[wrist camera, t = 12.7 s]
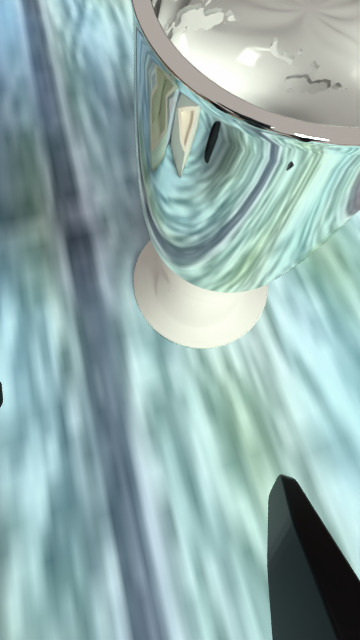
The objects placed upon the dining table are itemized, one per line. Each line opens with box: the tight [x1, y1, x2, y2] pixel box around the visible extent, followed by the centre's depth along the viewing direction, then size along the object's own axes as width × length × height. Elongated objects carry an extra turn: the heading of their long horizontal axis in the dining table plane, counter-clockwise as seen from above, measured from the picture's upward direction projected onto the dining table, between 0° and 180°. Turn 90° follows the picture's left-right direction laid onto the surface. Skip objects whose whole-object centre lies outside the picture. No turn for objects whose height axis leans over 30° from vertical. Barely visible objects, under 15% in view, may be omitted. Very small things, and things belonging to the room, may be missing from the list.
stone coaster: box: [133, 240, 268, 349], centre depth 20 cm, size 10×10×1 cm
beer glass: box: [131, 0, 360, 328], centre depth 12 cm, size 7×7×15 cm
